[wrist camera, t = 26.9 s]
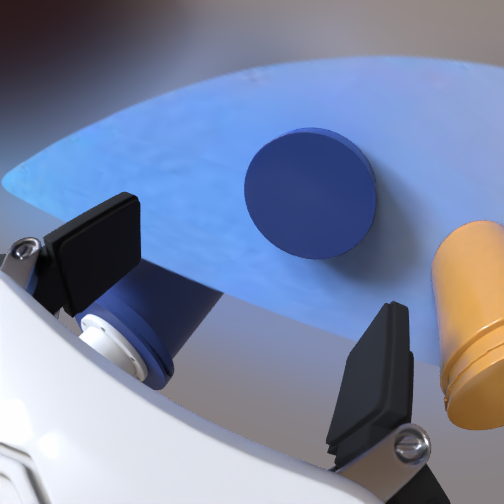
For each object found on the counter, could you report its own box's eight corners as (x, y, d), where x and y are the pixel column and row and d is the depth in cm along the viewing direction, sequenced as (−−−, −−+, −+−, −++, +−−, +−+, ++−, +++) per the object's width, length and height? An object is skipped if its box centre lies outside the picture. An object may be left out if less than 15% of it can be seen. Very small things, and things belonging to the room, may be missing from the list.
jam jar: (483, 320, 14) (499, 438, 7) (412, 289, 16) (410, 420, 9) (533, 246, 11) (592, 359, 4) (461, 201, 12) (520, 316, 5)
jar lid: (340, 264, 17) (336, 280, 16) (242, 212, 18) (229, 224, 17) (398, 165, 13) (401, 174, 11) (278, 107, 14) (267, 109, 12)
